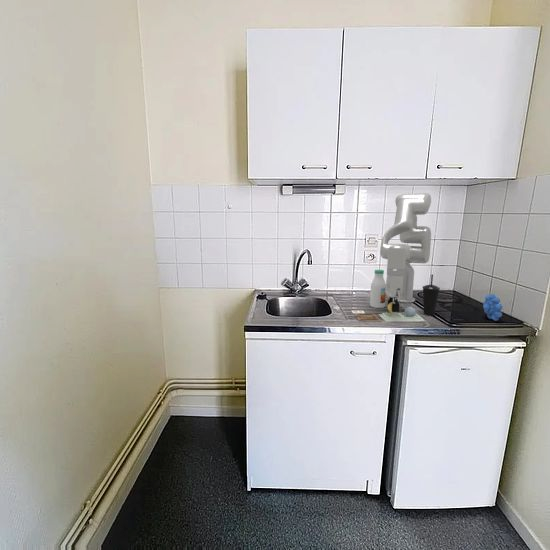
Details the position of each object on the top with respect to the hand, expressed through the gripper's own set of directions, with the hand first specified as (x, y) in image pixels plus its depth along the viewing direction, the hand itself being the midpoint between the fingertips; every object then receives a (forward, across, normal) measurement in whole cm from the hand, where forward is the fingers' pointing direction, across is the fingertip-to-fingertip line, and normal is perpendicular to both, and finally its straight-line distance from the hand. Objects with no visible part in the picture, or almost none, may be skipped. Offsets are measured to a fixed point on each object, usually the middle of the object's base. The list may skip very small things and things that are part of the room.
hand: (393, 309), depth 144 cm
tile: (+4, -10, -14) cm, 17 cm away
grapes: (+4, +2, +44) cm, 44 cm away
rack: (+4, 0, +4) cm, 6 cm away
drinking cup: (+4, -6, +20) cm, 21 cm away
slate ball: (+1, 0, +8) cm, 8 cm away
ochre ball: (-1, 0, 0) cm, 1 cm away
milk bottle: (+4, -20, -1) cm, 21 cm away
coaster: (+4, 0, -12) cm, 13 cm away
